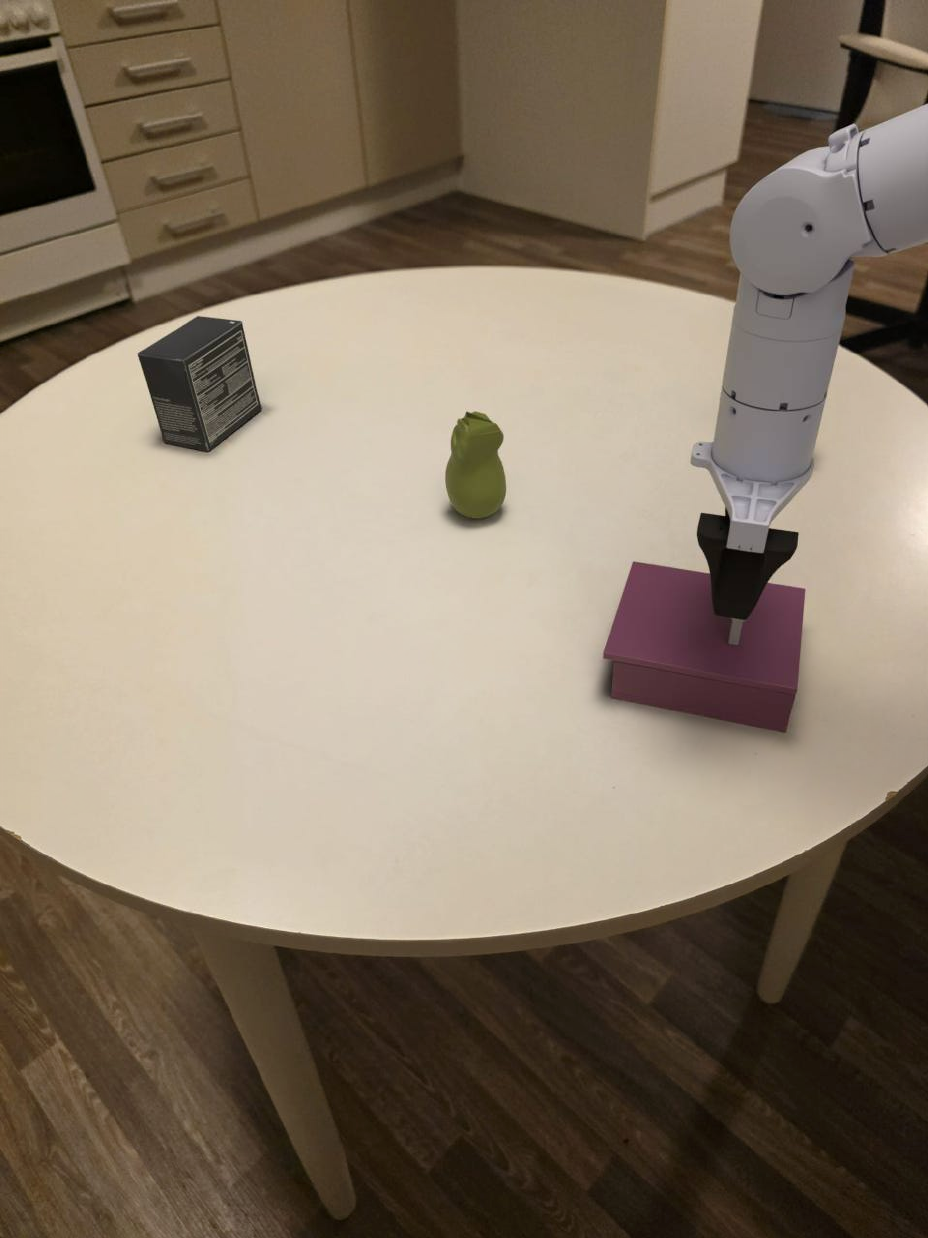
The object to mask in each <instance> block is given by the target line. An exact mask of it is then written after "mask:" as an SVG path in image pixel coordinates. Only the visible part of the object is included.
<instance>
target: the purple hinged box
mask: <svg viewBox="0 0 928 1238" xmlns="http://www.w3.org/2000/svg"><path fill="white" fill-rule="evenodd" d="M612 670H613V671H612V680H611V681H612V682H611V693H610V698H612V699H617V700H621V701H626V702H627V701H628V702H632V703H637V704H641V705H645V706H646V705H647V706H650V707H651V706H652V707H656V708H661V709H666V710H672V711H676V712H680V713H681V712H682V713H686V714H690V715H691V714H692V715H697V716H701V717H707V718H711V719H715V720H721V721H726V722H730V723H735V724H741V725H746V726H750V727H755V728H761V729H765V730H770V731H776V732H780V733H786V732H787V728H788V725H789V722H790V721H789V720H790V718H791V714H792V711H793V707H794V704H795V699H796V695H797V694H796V695H792V694H787V693H781V692H776V691H771V690H766V689H760V688H755V687H750V686H745V685H739V684H734V683H729V682H724V681H718V680H713V679H708V678H703V677H697V676H692V675H687V674H682V673H676V672H671V671H666V670H661V669H656V668H650V667H645V666H640V665H635V664H629V663H624V662H619V661H614V660H613V669H612Z"/></svg>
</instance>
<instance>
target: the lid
mask: <svg viewBox="0 0 928 1238" xmlns="http://www.w3.org/2000/svg"><path fill="white" fill-rule="evenodd" d="M805 599H806V588H803V587H798V586H791V585H785V584H779V583H772V582H768V583H767V584H766V586H765V588H764V590H763V592H762V594H761V596H760V598H759V600H758V602H757V604H756V606H755V608H754V610H753V611H752V613H751V615H750V616H749V617H748V619H747V620H741V619H735V618H729V617H723V616H717V615H715V614H714V610H713V604H712V594H711V578H710V572H704V571H697V570H690V569H685V568H678V567H672V566H666V565H659V564H654V563H647V562H641V561H635V560H634V561H632V563H631V567H630V569H629V572H628V576H627V579H626V581H625V584H624V588H623V591H622V594H621V597H620V600H619V603H618V607H617V609H616V612H615V615H614V620H613V622H612V624H611V628H610V631H609V634H608V638H607V640H606V644H605V646H604V650H603V652H602V659H603V660H609V661H613V662H614V661H619V662H624V663H629V664H635V665H640V666H645V667H650V668H656V669H661V670H666V671H671V672H676V673H682V674H687V675H692V676H697V677H703V678H708V679H713V680H718V681H724V682H729V683H734V684H739V685H745V686H750V687H755V688H760V689H766V690H771V691H776V692H781V693H787V694H792V695H797V692H798V686H799V676H800V665H801V664H800V663H801V650H802V637H803V628H804V627H803V625H804V612H805V601H806V600H805Z"/></svg>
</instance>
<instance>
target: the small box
mask: <svg viewBox="0 0 928 1238" xmlns="http://www.w3.org/2000/svg"><path fill="white" fill-rule="evenodd" d="M137 358H138V360H139V363H140V367H141V370H142V373H143V376H144V380H145V383H146V386H147V390H148V392H149V397H150V400H151V403H152V406H153V409H154V413H155V416H156V419H157V422H158V427H159V429H160V433H161V436H162V437H161V438H162V440H163V443H164V444H169V445H174V446H178V447H183V448H187V449H193V450H198V451H203V452H210V451H211V450H213V449H214V448H215V447H216V446H218V445H219V444H220V443H221V442H222V441H224V440H225V439H226V438H227V437H229V436H230V435H231V434H233V433H234V432H235V431H236V430H237V429H239V428H240V427H241V426H243V425H244V424H245V423H246V422H247V421H249V420H250V419H252V418H253V417H254V416H255V415H257V414H258V413H259V412H261V410H262V409H263V407H262V404H261V400H260V395H259V392H258V388H257V384H256V379H255V374H254V371H253V366H252V361H251V356H250V351H249V347H248V343H247V339H246V334H245V329H244V324H243V320H235V319H227V318H219V317H209V316H200V315H197V316H195V317H194V318H192V319H190V320H188V321H187V322H186V323H184V324H182V325H181V326H179V327H178V328H176V329H175V330H173V331H172V332H170V333H168V334H166V335H165V336H163V337H162V338H160V339H158V340H156V341H155V342H153V343H152V344H150V345H149V346H147V347H145V348H144V349H142V350H140V351H139V352H137Z"/></svg>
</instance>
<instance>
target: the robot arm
mask: <svg viewBox="0 0 928 1238" xmlns="http://www.w3.org/2000/svg"><path fill="white" fill-rule="evenodd" d="M827 142H828V146H821V147H815V148H813V149H808V150H806V151H805V152H803V153H801V154H799V155H797V156H795V157H794V158H793V159H791V160H789V161H788V162H787V163H784V164H783V165H782V166H780V167H779V168H777V169H776V170H774V171H772V172H770V173H769V174H767V175H766V176H765V177H763V178H762V179H761V180H759V181H757V182H756V183H755V185H753V186H752V187H751V189H750V190H748V192H746V194H744V196H743V197H742V199H741V200H740V201H739V203H738V205H737V206H736V208H735V211H734V213H733V215H732V218H731V222H730V227H729V248H730V253H731V256H732V259H733V262H734V264H735V266H736V268H737V269H738V271H739V272H740V273H739V280H738V286H737V293H736V299H735V304H734V306H733V312H732V318H731V324H730V331H729V336H728V337H729V338H728V344H727V351H726V358H725V362H724V363H725V364H724V369H723V376H722V382H721V383H722V384H721V390H720V397H719V404H718V411H717V417H716V422H715V423H716V424H715V430H714V435H713V441H711V442H709V441H697V442H695V443H694V444H693V447H692V449H691V450H692V451H691V453H690V461H689V462H690V465H692V466H693V467H696V468H703V469H706V470H707V471H708V473H709V474H710V476H711V479H712V481H713V483H714V485H715V487H716V489H717V491H718V494H719V496H720V498H721V500H722V502H723V504H724V515H721V514H714V513H709V512H700V515H699V518H698V522H697V526H696V539H697V544H698V546H699V548H700V550H701V551H702V553H703V556H704V558H705V560H706V563H707V567H708V571H709V573H710V578H711V594H712V604H713V610H714V614H715V615H717V616H723V617H729V618H735V619H741V620H747V619H748V617H749V616H750V615H751V613H752V611H753V610H754V608H755V606H756V604H757V602H758V600H759V598H760V596H761V594H762V592H763V590H764V588H765V586H766V584H767V583H769V581H770V580H771V579H772V577H773V576H774V574H775V573H776V572H777V571H778V570H779V569H781V567H783V565H785V564H786V563H787V562H789V561H791V559H792V557H793V556H794V554H795V553H796V551H797V550H798V545H799V534H800V533H799V532H798V531H792V530H786V529H780V528H779V529H778V528H773V527H772V528H771V527H770V526H771V524H772V522H773V521H774V520H775V519H776V517H778V515H779V514H780V513H781V512H782V511H783V510H784V509H785V508H786V506H788V505H789V503H790V502H791V501H792V500H793V499H794V498H795V497H796V495H797V494H798V493H800V491H801V490H802V489H803V488H804V487H805V486H806V485H807V484H808V482H809V481H810V480H811V479H812V475H813V471H814V467H815V460H814V457H813V455H814V451H815V447H816V442H817V439H818V435H819V430H820V426H821V422H822V417H823V414H824V409H825V404H826V401H827V396H828V393H829V392H828V391H829V387H830V382H831V379H832V374H833V370H834V367H835V363H836V357H837V354H838V349H839V345H840V341H841V337H842V333H843V328H844V324H845V320H846V313H847V311H846V304H847V301H848V297H849V292H850V289H851V284H852V280H853V277H854V276H853V275H854V272H855V267H856V262H855V261H854V260H852V259H854V258H857V257H866V258H882V257H886V256H889V255H893V254H895V253H898V252H901V251H905V250H908V249H911V248H915V247H917V246H921V245H923V244H926V243H928V103H925V104H923V105H920V106H918V107H916V108H914V109H911V110H909V111H907V112H904V113H902V114H900V115H898V116H897V115H896V116H894V117H892V118H890V119H887V120H885V121H884V122H881V123H879V124H876V125H874V126H872V127H869V128H867V129H864V130H862V131H859V128H858V126H857V124H855V123H852V124H850V125H848V126H845V127H843V128H840V129H838V130H836V131H835V132H833V133H832V134H829V137H828V140H827Z"/></svg>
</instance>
